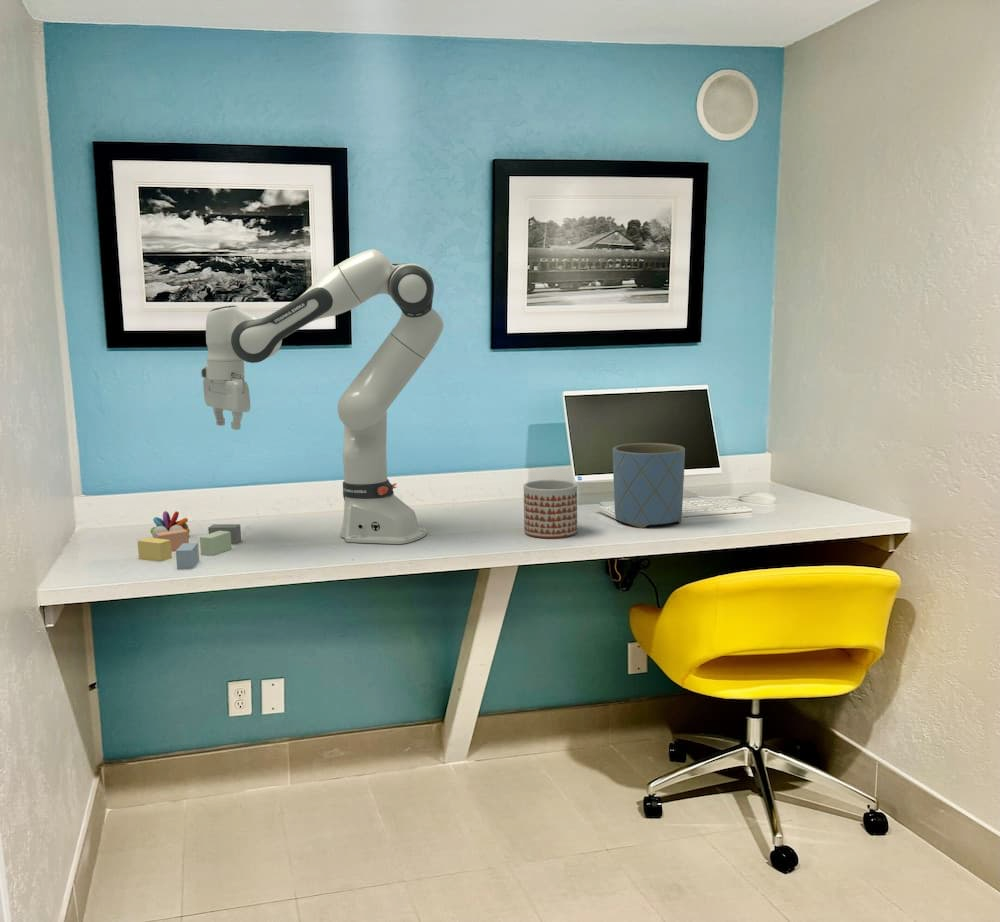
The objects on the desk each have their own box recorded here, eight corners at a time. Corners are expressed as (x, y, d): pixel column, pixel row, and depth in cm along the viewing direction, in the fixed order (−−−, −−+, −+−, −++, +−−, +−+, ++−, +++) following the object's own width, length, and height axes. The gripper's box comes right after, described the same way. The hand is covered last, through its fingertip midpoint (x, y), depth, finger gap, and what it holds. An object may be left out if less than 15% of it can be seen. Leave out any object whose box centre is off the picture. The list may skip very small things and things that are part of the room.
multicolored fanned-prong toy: (187, 541, 246) (185, 513, 245) (148, 543, 244) (146, 515, 243) (192, 533, 254) (190, 506, 253) (154, 535, 253) (152, 508, 252)
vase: (529, 540, 239) (529, 490, 237) (520, 528, 253) (519, 480, 251) (582, 537, 242) (582, 488, 239) (570, 525, 255) (570, 478, 253)
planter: (636, 532, 245) (637, 455, 242) (599, 518, 263) (599, 446, 259) (698, 524, 253) (699, 449, 250) (658, 510, 270) (658, 440, 267)
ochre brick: (171, 558, 230) (170, 539, 229) (161, 561, 227) (159, 543, 226) (149, 555, 233) (148, 537, 232) (138, 559, 229) (137, 540, 229)
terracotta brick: (184, 546, 241) (183, 528, 240) (189, 548, 238) (187, 531, 237) (156, 550, 237) (155, 533, 236) (160, 553, 234) (159, 535, 233)
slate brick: (184, 561, 226) (182, 543, 225) (199, 561, 226) (197, 542, 226) (177, 569, 219) (175, 550, 219) (192, 569, 220) (191, 550, 219)
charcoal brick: (241, 541, 245) (240, 524, 244) (236, 544, 241) (235, 527, 241) (214, 541, 245) (213, 524, 245) (209, 544, 242) (208, 527, 241)
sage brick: (220, 548, 238) (219, 530, 238) (231, 549, 237) (230, 531, 236) (201, 555, 232) (199, 537, 231) (212, 556, 231) (211, 538, 230)
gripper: (255, 374, 231) (257, 430, 233) (221, 369, 247) (224, 422, 249) (231, 375, 227) (233, 432, 229) (198, 370, 243) (200, 424, 245)
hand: (228, 427), depth 239 cm, fingers open, 8 cm apart
